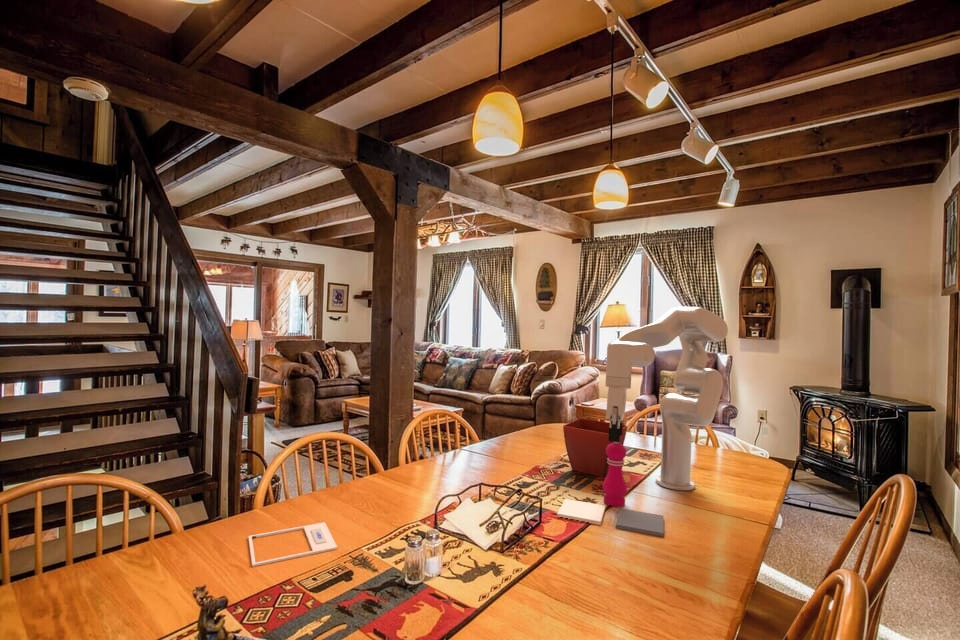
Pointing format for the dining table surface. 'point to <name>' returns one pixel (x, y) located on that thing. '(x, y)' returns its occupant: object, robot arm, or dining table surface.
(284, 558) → the photo frame
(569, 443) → the plant pot
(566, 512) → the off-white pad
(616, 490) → the pepper mill
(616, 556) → the dining table surface
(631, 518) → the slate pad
